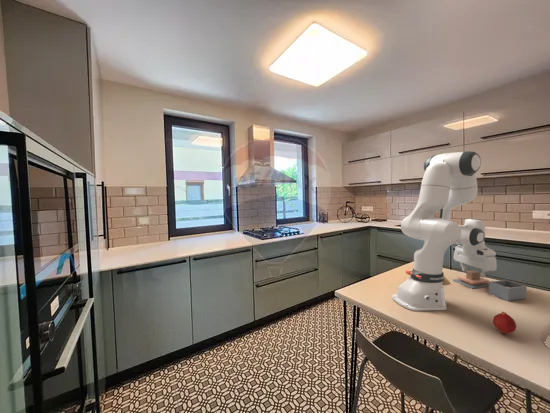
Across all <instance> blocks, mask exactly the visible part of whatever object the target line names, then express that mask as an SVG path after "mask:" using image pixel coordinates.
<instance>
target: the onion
mask: <svg viewBox="0 0 550 413" xmlns="http://www.w3.org/2000/svg"><path fill="white" fill-rule="evenodd" d="M492 322H493V325H494V327H495V328H496V329H497V330H498V331H499V332H500V333H502V334H504V335H507V334H509V335H510V334H512V333H514V332H515V331H516V329H517V323H516V320H514V318H512V316H511V315H509V314H507V312H506V311H501V313H497V314H495V316H493V318H492Z"/></svg>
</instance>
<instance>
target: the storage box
mask: <svg viewBox="0 0 550 413" xmlns="http://www.w3.org/2000/svg"><path fill="white" fill-rule="evenodd" d="M488 283H489V287H488V294H489V295H491V296H493V295H494V297H497V298H499V299H501V300H503V301H506V302H514V301H521V300H527V289H528V287H527V285H524V284H521V283H517V282H514V281H511V280H508V279H502V280H501V279H500V280H494V281H493V280H492V281H490V282H488Z"/></svg>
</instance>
